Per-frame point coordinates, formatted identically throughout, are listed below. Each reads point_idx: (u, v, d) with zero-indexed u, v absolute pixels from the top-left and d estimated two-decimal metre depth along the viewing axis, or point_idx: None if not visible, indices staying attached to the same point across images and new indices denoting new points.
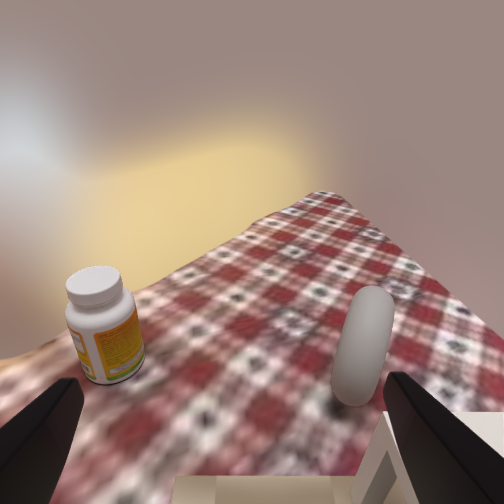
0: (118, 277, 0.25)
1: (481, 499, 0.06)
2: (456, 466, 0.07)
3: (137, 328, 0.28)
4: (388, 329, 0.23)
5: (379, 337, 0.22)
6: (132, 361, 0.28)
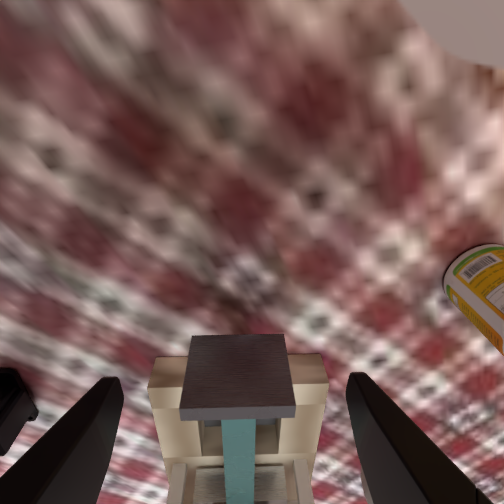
0: None
1: (422, 501, 0.06)
2: (402, 468, 0.06)
3: None
4: None
5: None
6: None
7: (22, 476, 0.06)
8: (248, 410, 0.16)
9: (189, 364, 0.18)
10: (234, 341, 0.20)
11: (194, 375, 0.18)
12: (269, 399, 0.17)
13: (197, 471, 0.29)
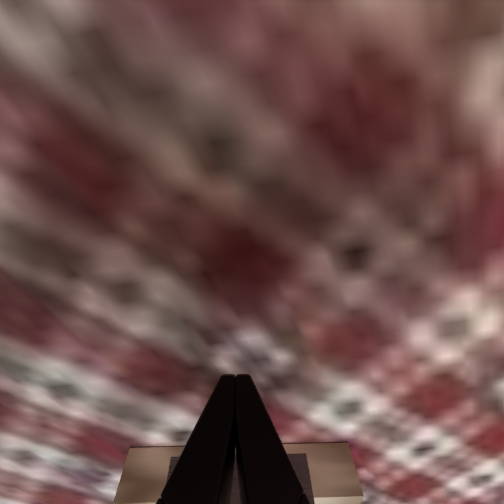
0: None
1: None
2: None
3: None
4: None
5: None
6: None
7: (194, 471, 0.06)
8: None
9: None
10: None
11: None
12: None
13: None
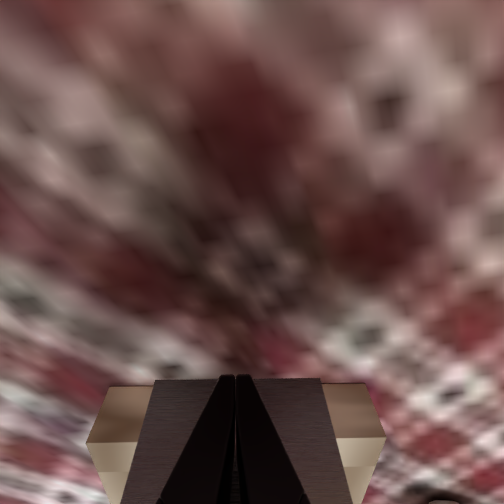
0: None
1: None
2: None
3: None
4: None
5: None
6: None
7: (193, 471, 0.06)
8: None
9: (141, 447, 0.09)
10: None
11: (148, 477, 0.09)
12: None
13: None
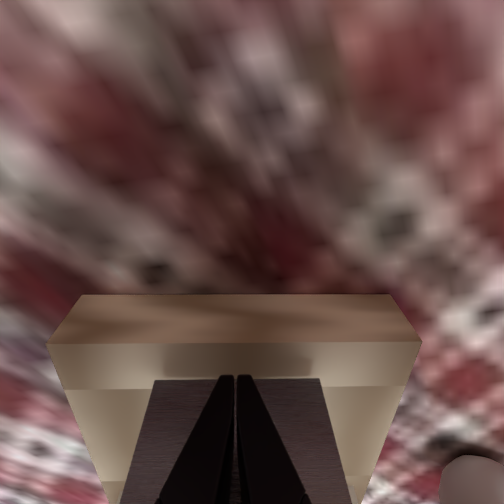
0: None
1: None
2: None
3: None
4: None
5: None
6: None
7: (192, 471, 0.06)
8: None
9: (141, 446, 0.09)
10: None
11: (147, 476, 0.09)
12: None
13: None
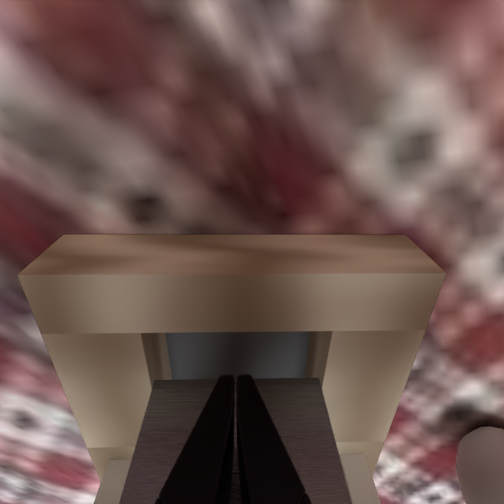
0: None
1: None
2: None
3: None
4: None
5: None
6: None
7: (192, 471, 0.06)
8: None
9: (141, 446, 0.09)
10: None
11: (147, 475, 0.09)
12: None
13: None
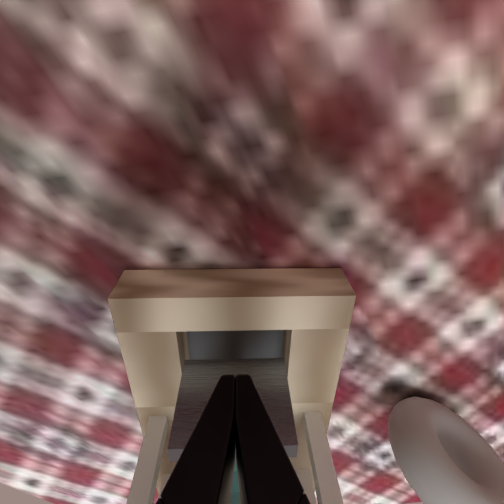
0: None
1: None
2: None
3: None
4: None
5: None
6: None
7: (194, 471, 0.06)
8: None
9: (181, 394, 0.17)
10: (230, 366, 0.18)
11: (186, 407, 0.16)
12: None
13: None
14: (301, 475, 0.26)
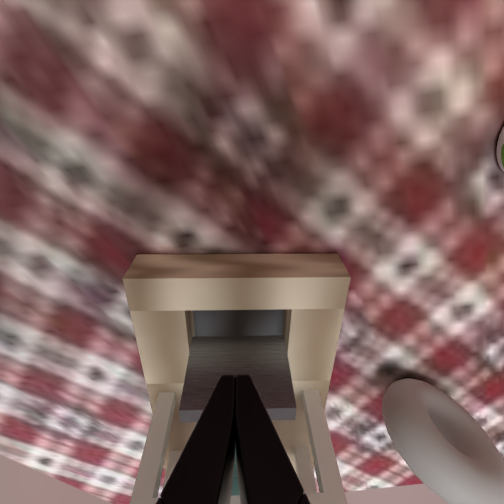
0: None
1: None
2: None
3: None
4: (439, 496, 0.22)
5: (433, 489, 0.21)
6: None
7: (194, 471, 0.06)
8: None
9: (189, 365, 0.18)
10: (234, 342, 0.20)
11: (195, 376, 0.18)
12: (269, 401, 0.16)
13: None
14: (300, 452, 0.28)
